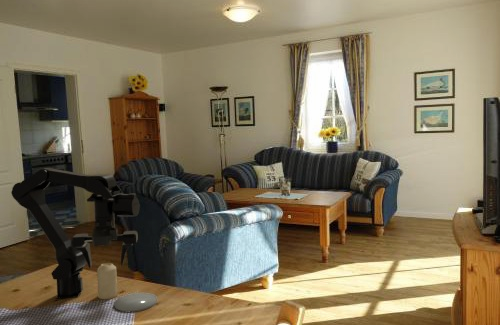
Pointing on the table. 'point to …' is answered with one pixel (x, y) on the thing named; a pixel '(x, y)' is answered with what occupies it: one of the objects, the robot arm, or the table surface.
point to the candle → (107, 281)
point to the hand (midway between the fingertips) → (106, 266)
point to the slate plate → (135, 302)
